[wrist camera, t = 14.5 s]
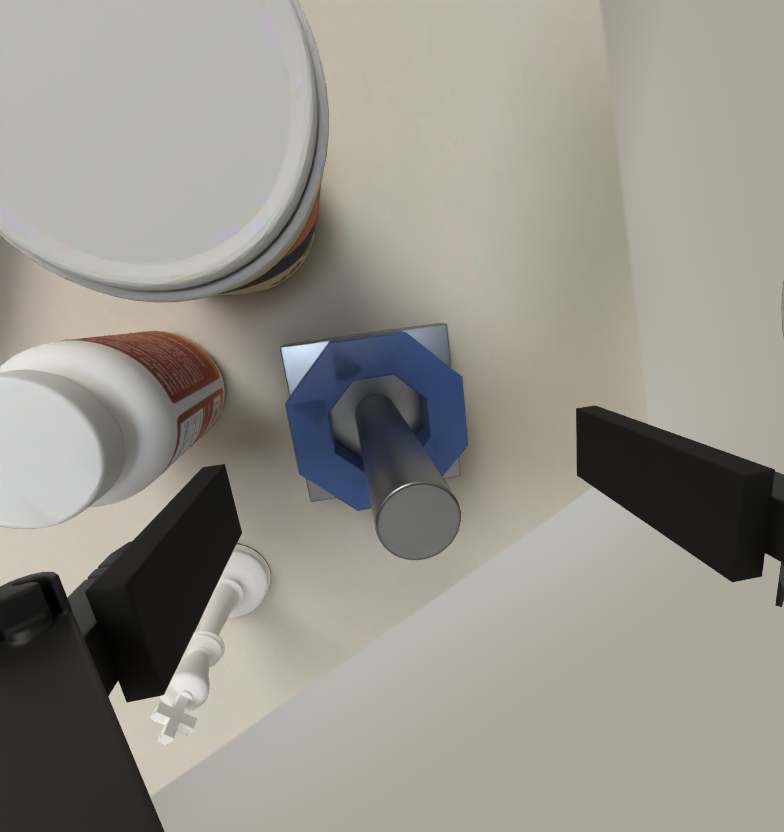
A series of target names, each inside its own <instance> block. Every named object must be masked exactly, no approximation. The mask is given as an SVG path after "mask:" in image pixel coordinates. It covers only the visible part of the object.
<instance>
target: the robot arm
mask: <svg viewBox="0 0 784 832" xmlns="http://www.w3.org/2000/svg"><path fill="white" fill-rule="evenodd" d="M576 432H577V476H579V477H580V478H581V479H583V480H584V481H586V482H587V483H589V484H590V485H592V486H593V487H595V488H596V489H597V490H599V491H600V492H602V493H603V494H605V495H606V496H608V497H609V498H611V499H612V500H613V501H615V502H616V503H618V504H620V505H621V506H622V507H624V508H625V509H627V510H628V511H630V512H631V513H632V514H634V515H635V516H637V517H638V518H640V519H641V520H643V521H644V522H645V523H647V524H648V525H650V526H651V527H653V528H654V529H656V530H657V531H659V532H660V533H661V534H663V535H664V536H666V537H667V538H669V539H670V540H672V541H673V542H675V543H676V544H678V545H679V546H680V547H682V548H683V549H685V550H686V551H688V552H689V553H691V554H692V555H694V556H695V557H696V558H698V559H699V560H701V561H702V562H704V563H705V564H707V565H708V566H710V567H711V568H712V569H714V570H715V571H717V572H718V573H720V574H721V575H723V576H724V577H725V578H727V579H728V580H730V581H732V582H736V581H741V580H746V579H751V578H756V577H761V576H762V571H763V563H764V555H765V553H766V554H768V555H770V556H772V557H773V558H775V559H777V560H779V561H781V568H780V575H779V583H778V590H777V597H776V606H780V607H782V604H783V601H784V475H783V474H780V473H778V472H775V470H774V469H772V468H769V467H766V466H763V465H760V464H757V463H755V462H752V461H749V460H746V459H744V458H741V457H738V456H735V455H732V454H730V453H727V452H724V451H721V450H718V449H715V448H713V447H710V446H707V445H704V444H701V443H699V442H696V441H693V440H690V439H688V438H685V437H682V436H679V435H676V434H674V433H671V432H668V431H665V430H662V429H660V428H657V427H654V426H651V425H648V424H646V423H643V422H640V421H637V420H634V419H632V418H629V417H626V416H623V415H620V414H618V413H615V412H612V411H609V410H606V409H604V408H601V407H598V406H589V407H583V408H576ZM241 534H242V531H241V527H240V523H239V519H238V515H237V511H236V507H235V503H234V499H233V495H232V491H231V487H230V483H229V479H228V475H227V471H226V467H225V464H221V465H215V466H209V467H203V468H202V469H201V470H200V471H199V472H198V473H197V474H196V475H195V476H194V477H193V478H192V479H191V480H190V481H189V482H188V483H187V484H186V486H185V487H184V488H183V489H182V490H181V491H180V492H179V493H178V494H177V495H176V496H175V497H174V498H173V499H172V500H171V501H170V502H169V503H168V505H167V506H166V507H165V508H164V509H163V510H162V511H161V512H160V513H159V514H158V515H157V516H156V517H155V518H154V519H153V520H152V521H151V522H150V524H149V525H148V526H147V527H146V528H145V529H144V530H143V531H142V532H141V533H140V534H139V535H138V536H137V537H136V538H135V539H134V540H133V541H132V542H128V543H127V544H125V545H124V546H122V547H121V548H119V549H118V550H116V551H115V552H113V553H112V554H110V555H109V556H108V557H107V558H106V559H105V560H104V561H103V562H102V563H101V564H100V565H99V566H98V569H95V570H94V571H93V572H92V573H91V574H90V575H89V577H88V580H85V581H84V582H83V583H82V584H81V585H80V586H79V587H78V588H77V589H76V590H75V591H74V592H73V593H72V594H71V595H70V596H69V597H68V598H67V596H66V593H65V591H64V588H63V586H62V583H61V581H60V578H59V576H58V575H57V574H56V573H54V572H41V573H36V574H32V575H28V576H25V577H22V578H19V579H16V580H14V581H11V582H9V583H7V584H5V585H3V586H1V587H0V832H164V829H163V827H162V825H161V822H160V820H159V818H158V815H157V813H156V810H155V808H154V806H153V803H152V801H151V798H150V796H149V793H148V791H147V789H146V786H145V784H144V781H143V779H142V777H141V774H140V772H139V769H138V767H137V765H136V762H135V760H134V757H133V755H132V753H131V750H130V748H129V745H128V743H127V741H126V738H125V736H124V733H123V731H122V729H121V726H120V724H119V721H118V719H117V717H116V714H115V712H114V709H113V707H112V705H111V702H110V700H109V697H108V696H109V694H110V693H111V691H112V689H113V688H114V686H115V685H116V683H117V681H119V683H120V686H121V689H122V691H123V694H124V696H125V699H126V702H131V701H136V700H141V699H146V698H152V697H157V696H162V695H164V694H165V692H166V690H167V688H168V686H169V684H170V682H171V679H172V677H173V675H174V673H175V671H176V669H177V667H178V665H179V663H180V661H181V659H182V657H183V654H184V652H185V650H186V648H187V646H188V644H189V642H190V640H191V638H192V636H193V634H194V632H195V630H196V627H197V625H198V623H199V621H200V619H201V617H202V615H203V613H204V611H205V609H206V607H207V605H208V602H209V600H210V598H211V596H212V594H213V592H214V590H215V588H216V586H217V584H218V582H219V580H220V577H221V575H222V573H223V571H224V569H225V567H226V565H227V563H228V561H229V559H230V557H231V555H232V552H233V550H234V548H235V546H236V544H237V542H238V540H239V538H240V536H241Z"/></svg>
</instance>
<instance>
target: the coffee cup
mask: <svg viewBox="0 0 784 832" xmlns="http://www.w3.org/2000/svg"><path fill="white" fill-rule="evenodd" d="M328 136H329V109H328V99H327V89H326V83H325V78H324V73H323V68H322V63H321V60H320V56H319V53H318V49H317V46H316V42H315V39H314V36H313V33H312V31H311V28H310V25H309V23H308V20H307V18H306V15H305V13H304V11H303V9H302V7H301V4H300V2H299V0H0V235H1V236H2V237H3V238H4V239H5V240H6V241H7V242H9V243H10V244H11V245H12V246H14V247H15V248H16V249H18V250H19V251H20V252H22V253H23V254H24V255H26V256H27V257H28V258H30V259H32V260H33V261H35V262H36V263H38V264H39V265H41V266H43V267H44V268H46V269H47V270H49V271H51V272H53V273H55V274H57V275H59V276H61V277H63V278H65V279H67V280H69V281H71V282H74V283H76V284H79V285H81V286H84V287H86V288H89V289H92V290H95V291H98V292H101V293H105V294H108V295H112V296H115V297H120V298H125V299H130V300H135V301H146V302H180V301H188V300H196V299H200V298H204V297H208V296H219V295H232V294H244V293H254V292H259V291H263V290H266V289H270V288H272V287H275V286H277V285H279V284H281V283H282V282H284V281H285V280H287V279H288V278H290V277H291V276H292V275H293V274H294V273H295V272H296V271H297V270H298V269H299V268H300V266H301V265H302V264H303V262H304V261H305V259H306V257H307V255H308V253H309V251H310V249H311V246H312V243H313V240H314V236H315V231H316V225H317V217H318V207H319V197H320V187H321V180H322V176H323V171H324V166H325V161H326V156H327V147H328Z"/></svg>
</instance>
